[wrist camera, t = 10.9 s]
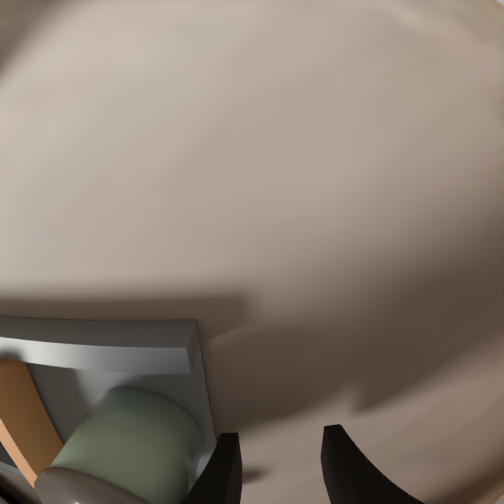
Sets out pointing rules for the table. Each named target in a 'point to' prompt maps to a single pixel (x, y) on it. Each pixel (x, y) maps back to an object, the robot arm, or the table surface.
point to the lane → (108, 368)
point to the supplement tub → (3, 501)
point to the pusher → (25, 422)
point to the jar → (125, 453)
